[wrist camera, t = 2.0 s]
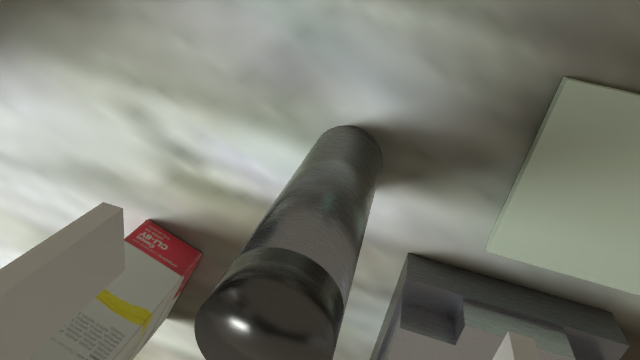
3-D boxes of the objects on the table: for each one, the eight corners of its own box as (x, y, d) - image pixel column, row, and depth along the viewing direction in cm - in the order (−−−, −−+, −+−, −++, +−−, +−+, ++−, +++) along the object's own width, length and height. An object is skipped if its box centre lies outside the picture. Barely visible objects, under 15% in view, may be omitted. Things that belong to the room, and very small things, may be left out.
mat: (485, 245, 24) (486, 251, 24) (563, 76, 20) (567, 79, 19) (667, 297, 23) (673, 305, 22) (796, 130, 18) (808, 134, 18)
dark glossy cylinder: (307, 180, 25) (191, 371, 13) (320, 117, 23) (197, 271, 11) (372, 198, 25) (315, 415, 12) (390, 136, 23) (344, 318, 10)
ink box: (147, 214, 29) (-9, 343, 19) (206, 253, 30) (85, 401, 19) (112, 286, 33) (-31, 425, 23) (165, 320, 34) (46, 472, 23)
